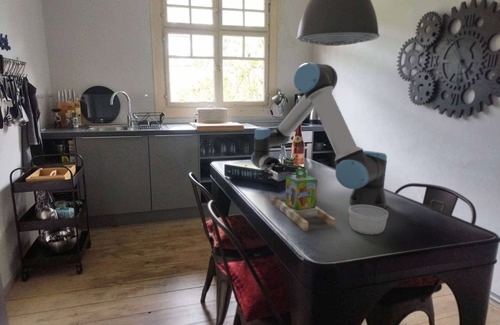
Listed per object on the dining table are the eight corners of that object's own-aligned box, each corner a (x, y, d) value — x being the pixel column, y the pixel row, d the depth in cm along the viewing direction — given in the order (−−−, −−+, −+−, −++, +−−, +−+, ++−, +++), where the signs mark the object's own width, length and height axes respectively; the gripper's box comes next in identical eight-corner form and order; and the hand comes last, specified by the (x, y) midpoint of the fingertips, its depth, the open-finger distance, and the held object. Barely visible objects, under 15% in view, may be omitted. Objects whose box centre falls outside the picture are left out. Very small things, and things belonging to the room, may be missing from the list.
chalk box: (296, 211, 130) (298, 172, 127) (283, 203, 138) (285, 167, 135) (316, 207, 134) (318, 170, 131) (303, 200, 142) (305, 165, 139)
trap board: (270, 201, 150) (270, 194, 150) (295, 199, 154) (295, 192, 153) (304, 230, 120) (305, 222, 119) (335, 227, 123) (335, 219, 123)
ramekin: (342, 222, 129) (343, 204, 127) (376, 221, 130) (378, 203, 128) (355, 236, 116) (357, 217, 114) (393, 236, 117) (395, 217, 115)
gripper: (293, 170, 165) (318, 181, 145) (244, 174, 156) (263, 187, 136) (294, 155, 163) (319, 164, 144) (244, 158, 154) (264, 168, 135)
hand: (292, 175), depth 140 cm, fingers open, 13 cm apart
